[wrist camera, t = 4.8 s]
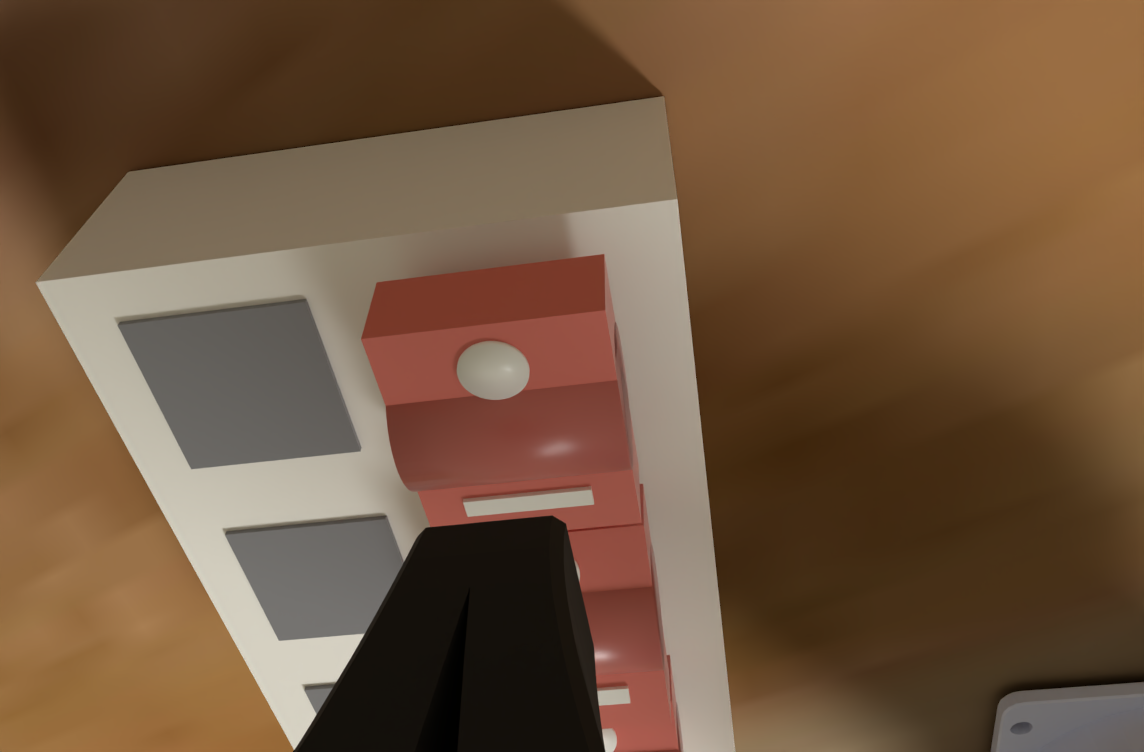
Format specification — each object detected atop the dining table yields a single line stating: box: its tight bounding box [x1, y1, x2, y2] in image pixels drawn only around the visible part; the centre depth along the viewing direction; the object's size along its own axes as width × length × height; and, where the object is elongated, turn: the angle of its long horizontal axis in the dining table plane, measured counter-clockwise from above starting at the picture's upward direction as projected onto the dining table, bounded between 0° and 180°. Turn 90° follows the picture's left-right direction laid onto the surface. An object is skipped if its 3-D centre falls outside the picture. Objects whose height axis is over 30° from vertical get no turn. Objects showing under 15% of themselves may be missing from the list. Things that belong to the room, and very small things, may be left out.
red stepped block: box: [568, 484, 671, 729], centre depth 16 cm, size 4×3×2 cm
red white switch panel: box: [36, 96, 735, 752], centre depth 19 cm, size 13×9×4 cm
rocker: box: [361, 254, 641, 530], centre depth 14 cm, size 4×3×2 cm
